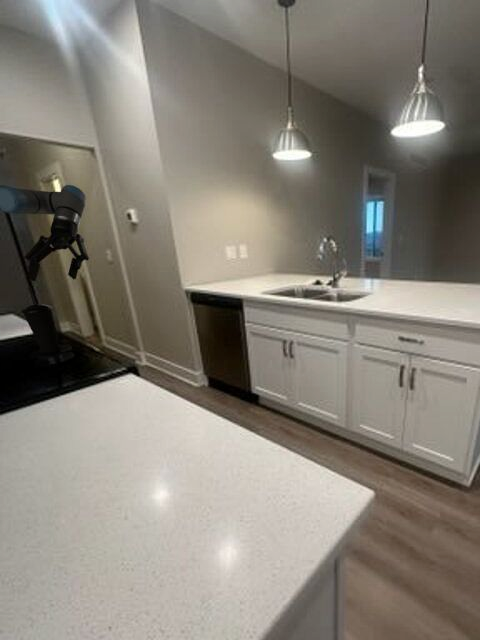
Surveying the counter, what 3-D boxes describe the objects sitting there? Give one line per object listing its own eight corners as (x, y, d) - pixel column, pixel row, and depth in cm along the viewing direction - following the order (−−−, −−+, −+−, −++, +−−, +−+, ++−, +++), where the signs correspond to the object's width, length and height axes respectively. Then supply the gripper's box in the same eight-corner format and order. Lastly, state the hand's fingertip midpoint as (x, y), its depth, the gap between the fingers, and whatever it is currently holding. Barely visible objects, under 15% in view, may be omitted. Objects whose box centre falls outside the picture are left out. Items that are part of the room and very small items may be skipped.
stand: (26, 367, 108) (21, 356, 106) (57, 354, 117) (54, 343, 116) (52, 370, 105) (48, 358, 103) (83, 356, 114) (79, 345, 113)
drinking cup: (48, 346, 113) (26, 285, 105) (70, 345, 113) (50, 284, 105) (31, 355, 106) (6, 290, 98) (54, 354, 106) (31, 289, 98)
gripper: (107, 231, 122) (95, 282, 115) (38, 234, 123) (23, 285, 116) (94, 215, 115) (81, 269, 108) (22, 219, 116) (4, 272, 109)
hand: (51, 278), depth 112 cm, fingers open, 13 cm apart
